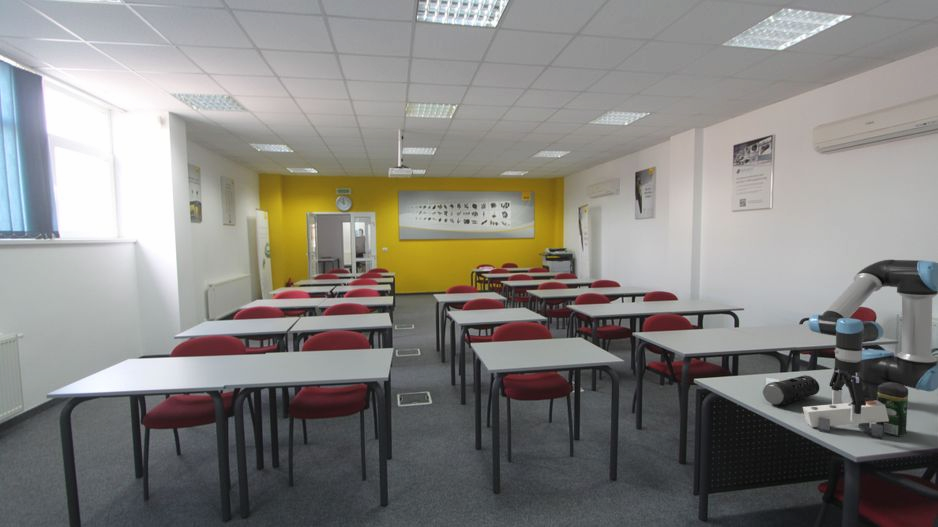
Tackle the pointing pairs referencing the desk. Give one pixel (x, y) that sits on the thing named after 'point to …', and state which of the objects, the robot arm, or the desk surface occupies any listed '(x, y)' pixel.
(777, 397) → the muzzle brake
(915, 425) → the desk surface
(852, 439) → the desk surface
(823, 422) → the bracket far
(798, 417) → the desk surface
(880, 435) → the bracket near
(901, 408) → the coffee jar
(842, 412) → the socket bar
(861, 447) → the desk surface
